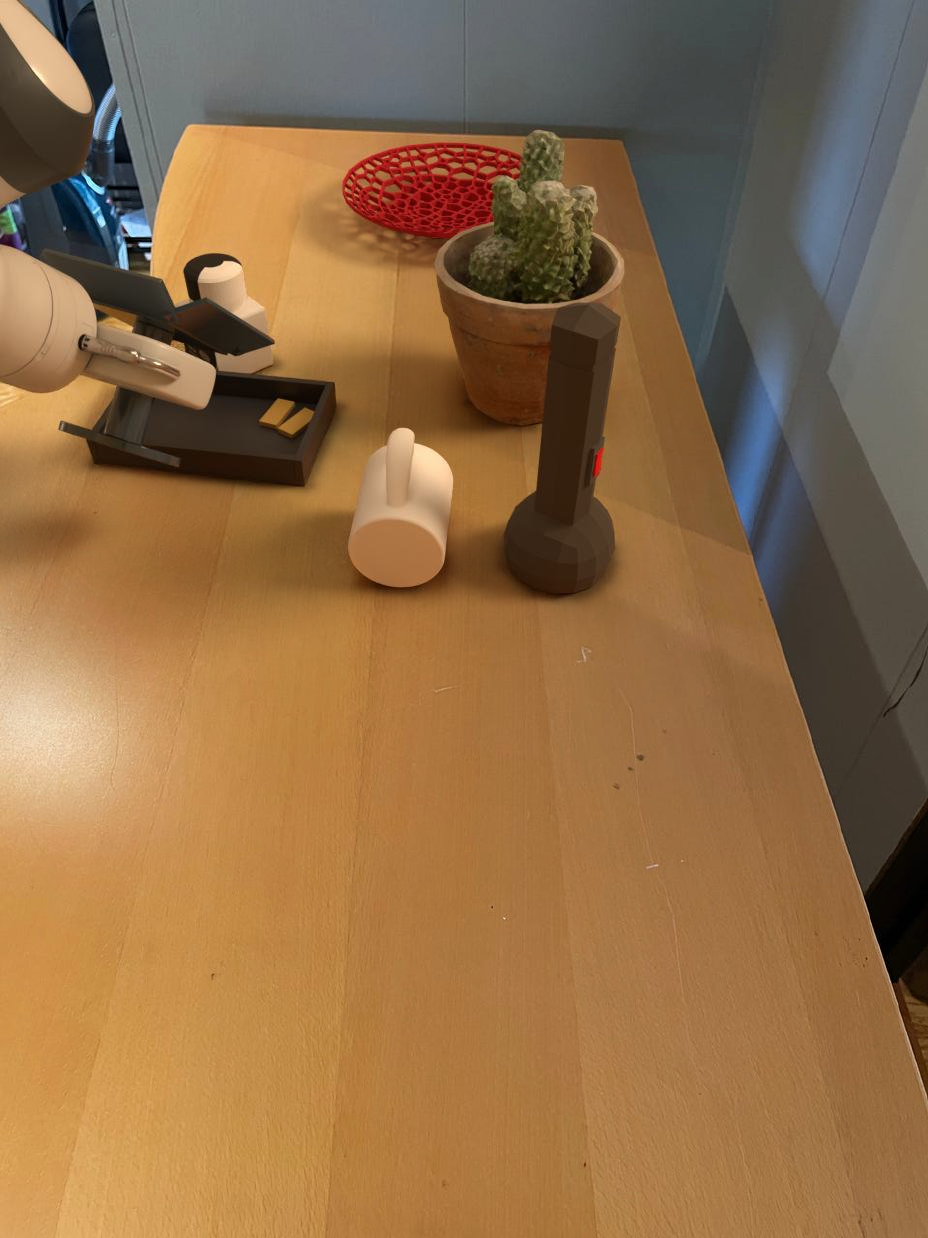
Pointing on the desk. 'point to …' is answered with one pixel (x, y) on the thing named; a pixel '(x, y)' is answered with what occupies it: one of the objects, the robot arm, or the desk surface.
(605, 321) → the flashlight
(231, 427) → the tray
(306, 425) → the key
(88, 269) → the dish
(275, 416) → the orange rectangular block
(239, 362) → the medicine bottle
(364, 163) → the bowl
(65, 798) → the desk surface
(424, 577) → the mug
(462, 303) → the potted plant
